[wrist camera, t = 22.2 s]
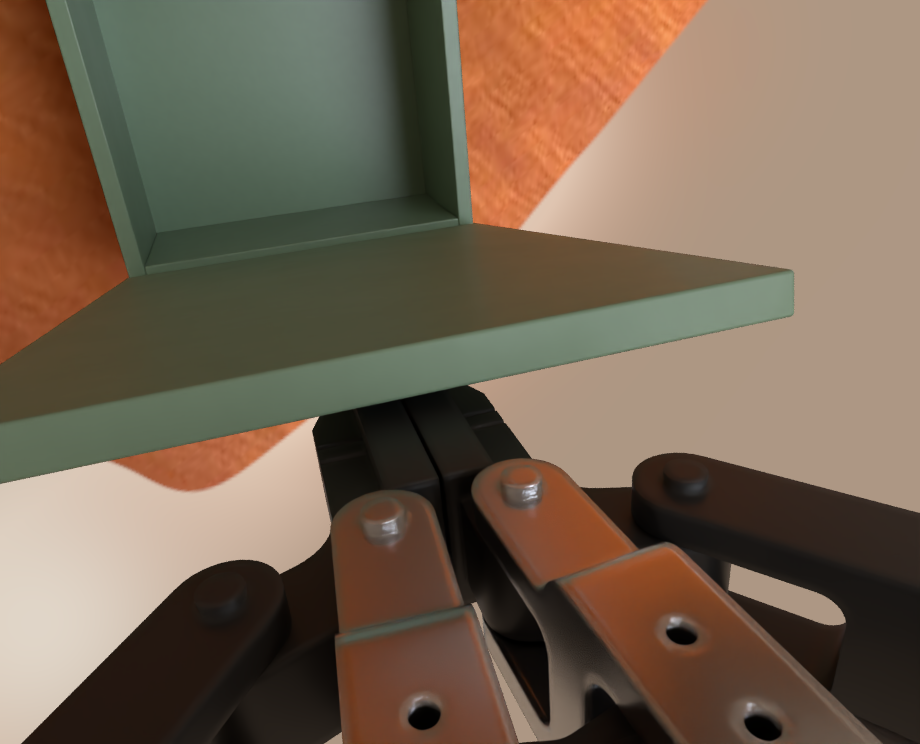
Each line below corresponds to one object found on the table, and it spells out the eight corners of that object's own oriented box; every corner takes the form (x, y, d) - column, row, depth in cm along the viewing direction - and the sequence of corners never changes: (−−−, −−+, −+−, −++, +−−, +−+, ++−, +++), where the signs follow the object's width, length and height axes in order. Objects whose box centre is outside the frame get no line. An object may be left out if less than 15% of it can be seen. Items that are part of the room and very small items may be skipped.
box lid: (-129, 448, 9) (-106, 508, 9) (795, 269, 12) (795, 317, 12) (126, 277, 25) (132, 299, 26) (475, 222, 28) (478, 242, 29)
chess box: (3, -259, 23) (-60, -346, 18) (391, -258, 26) (432, -333, 21) (147, 244, 31) (130, 285, 26) (435, 201, 34) (473, 230, 29)
